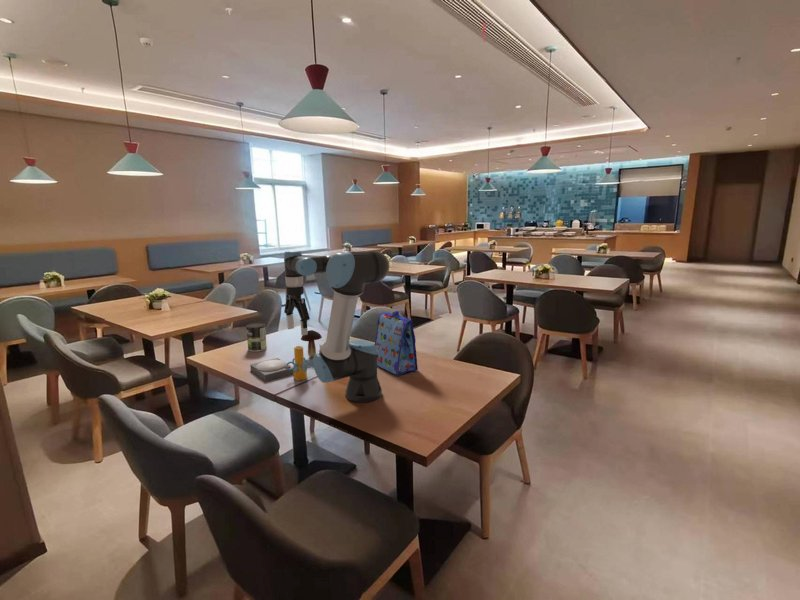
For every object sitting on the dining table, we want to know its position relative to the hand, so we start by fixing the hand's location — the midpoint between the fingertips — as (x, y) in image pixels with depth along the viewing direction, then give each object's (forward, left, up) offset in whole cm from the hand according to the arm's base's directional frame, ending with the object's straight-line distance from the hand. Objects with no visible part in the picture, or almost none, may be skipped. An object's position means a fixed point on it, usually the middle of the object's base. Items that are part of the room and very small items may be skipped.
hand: (297, 331), depth 182 cm
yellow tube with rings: (0, 0, -23) cm, 23 cm away
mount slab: (+16, +7, -22) cm, 28 cm away
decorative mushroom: (+22, -18, -23) cm, 36 cm away
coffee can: (+55, -1, -23) cm, 59 cm away
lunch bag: (-18, -42, -23) cm, 51 cm away
